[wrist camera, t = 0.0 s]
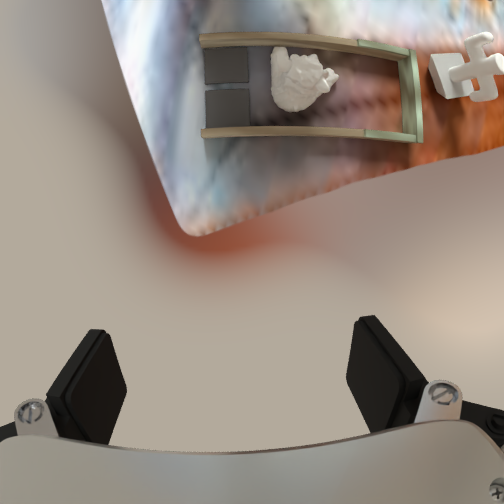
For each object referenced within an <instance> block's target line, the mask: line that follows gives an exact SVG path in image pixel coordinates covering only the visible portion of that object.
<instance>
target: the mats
mask: <svg viewBox="0 0 504 504" xmlns="http://www.w3.org/2000/svg"><path fill="white" fill-rule="evenodd" d="M240 82H248V55H247V47H240V48H216V49H205V84H218V83H240ZM205 100H206V129H208V128H225V127H250V110H249V89H226V90H209V91H205Z"/></svg>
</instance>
